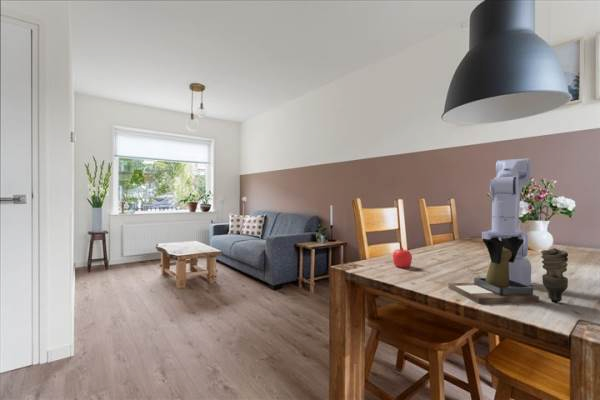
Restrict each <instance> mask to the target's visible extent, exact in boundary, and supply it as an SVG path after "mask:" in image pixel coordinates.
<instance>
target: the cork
mask: <svg viewBox="0 0 600 400" xmlns="http://www.w3.org/2000/svg"><path fill="white" fill-rule="evenodd" d="M511 257H512V253H511V251H510V250H509V249H506V248H503V249H502V253H501V261H500V264H497V263H492V262H491V261H490V263H489V267H488V270H487V271H486V272H487V273H486V276H485V278H486V279H485V281H486V282H488V283H490V284H493V285H495V286H500V287H509V259H510V258H511Z"/></svg>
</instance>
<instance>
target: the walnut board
mask: <svg viewBox="0 0 600 400" xmlns="http://www.w3.org/2000/svg"><path fill="white" fill-rule="evenodd" d="M447 285H448V286H447V287H448V289H450V290H451V291H454V292H456V293H458V294H460V295H461V296H463V297H465V298H467V299H469V300H471V301H473V302H475V303H477V304H483V305H484V304H509V303H513V304H514V303H515V304H516V303H539V302H540V296H539V295H536V294H534V293H533V294H532V295H513V296H502V295H497V294H495V293H494V294H470V293H468V292H466V291H464V290H462V289H460V288H458V287H456V286H468V285H474V282H453V283H452V282H451V283H450V282H449V283H448V284H447ZM476 286H477V285H476ZM498 287H500V286H498ZM500 288H509V287H500Z"/></svg>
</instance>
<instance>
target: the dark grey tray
mask: <svg viewBox="0 0 600 400" xmlns="http://www.w3.org/2000/svg"><path fill="white" fill-rule="evenodd" d="M485 279H486V277H475V278H474V279H473V281H474V282H473V283H474V285H477V286H479V287H481V288H483V289H486V290H488V291H490V292H493V293H495V294H497V295H502V296H513V295H532V294H533V295H534V287H533V286H531V285H524V284H522V283H519V282H516V281H513V280H510V279H509V288H500V287H498V286H495V285H493V284H490V283H488V282H486V281H485Z"/></svg>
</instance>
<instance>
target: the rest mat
mask: <svg viewBox="0 0 600 400" xmlns="http://www.w3.org/2000/svg"><path fill="white" fill-rule="evenodd" d="M456 287H458V288H460V289H462V290H464V291H466V292H468V293H470V294H494V293H493V292H490V291H488V290H486V289H483V288H481V287H479V286H476V285H468V286H456Z"/></svg>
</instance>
